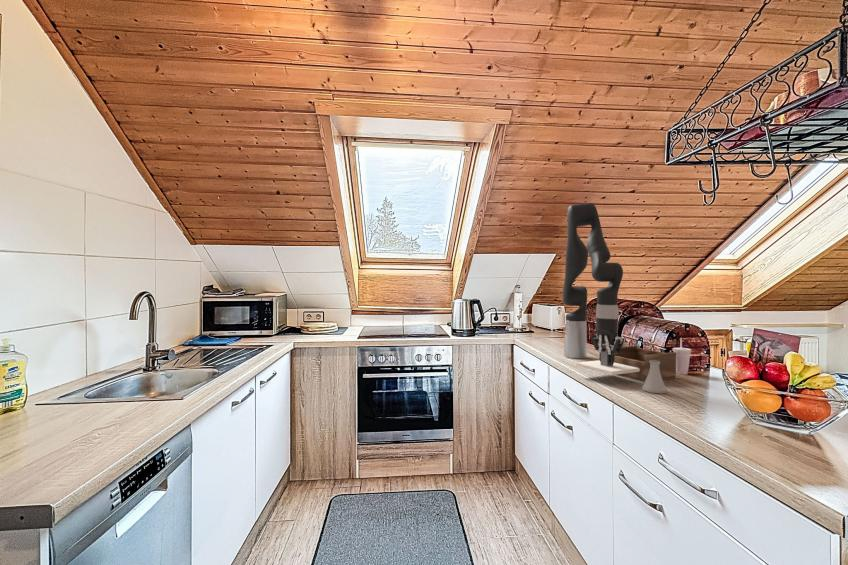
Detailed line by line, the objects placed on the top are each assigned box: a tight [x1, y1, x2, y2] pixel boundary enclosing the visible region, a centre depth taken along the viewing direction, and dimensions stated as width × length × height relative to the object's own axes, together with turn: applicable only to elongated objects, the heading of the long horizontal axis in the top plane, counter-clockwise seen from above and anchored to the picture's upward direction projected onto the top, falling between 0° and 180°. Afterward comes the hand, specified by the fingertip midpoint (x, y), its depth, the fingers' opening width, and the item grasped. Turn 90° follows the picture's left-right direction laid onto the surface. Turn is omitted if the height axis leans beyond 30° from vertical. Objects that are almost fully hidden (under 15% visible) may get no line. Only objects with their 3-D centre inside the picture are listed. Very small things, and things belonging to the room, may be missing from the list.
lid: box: [575, 351, 640, 376], centre depth 158 cm, size 17×13×6 cm
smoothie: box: [672, 337, 692, 376], centre depth 167 cm, size 6×6×14 cm
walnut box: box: [606, 345, 677, 383], centre depth 165 cm, size 18×16×10 cm
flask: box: [641, 360, 668, 394], centre depth 142 cm, size 7×7×10 cm
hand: (606, 363), depth 158 cm, fingers closed on lid, 3 cm apart
